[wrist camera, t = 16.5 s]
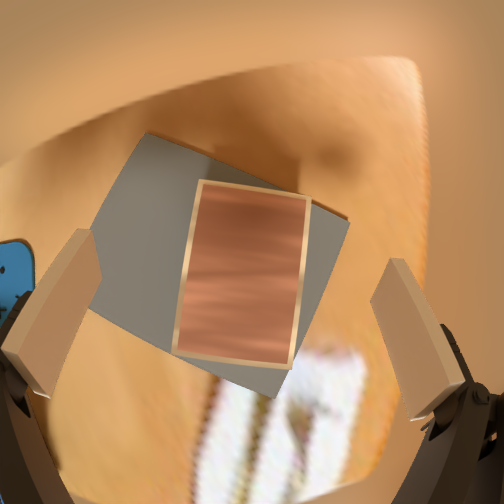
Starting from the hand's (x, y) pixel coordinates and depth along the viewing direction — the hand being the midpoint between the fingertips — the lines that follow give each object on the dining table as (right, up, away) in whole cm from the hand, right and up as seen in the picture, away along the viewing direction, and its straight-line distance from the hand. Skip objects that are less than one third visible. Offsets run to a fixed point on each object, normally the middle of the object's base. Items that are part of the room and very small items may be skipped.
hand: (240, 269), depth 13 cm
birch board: (-1, -7, +8) cm, 11 cm away
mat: (-3, 0, +12) cm, 12 cm away
